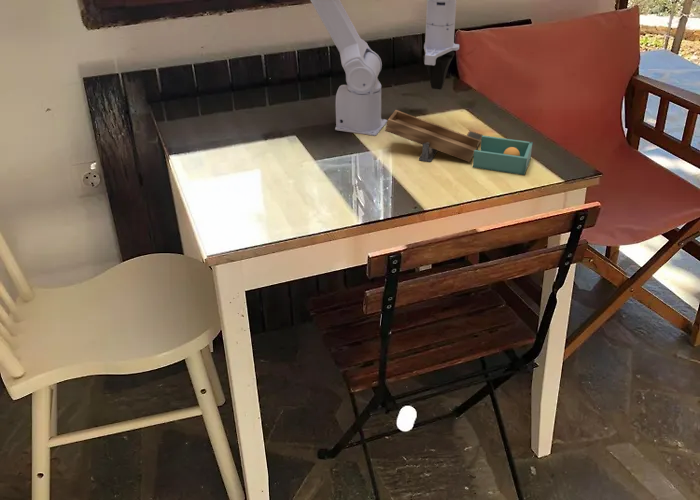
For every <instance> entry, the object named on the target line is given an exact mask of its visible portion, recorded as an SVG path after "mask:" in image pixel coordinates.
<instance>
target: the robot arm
mask: <svg viewBox="0 0 700 500" xmlns="http://www.w3.org/2000/svg"><path fill="white" fill-rule="evenodd" d="M309 1H310V2H311V4H312V6H313V8H314V10H315V11H316V14H317V15H318V16H319V18H320V20H321V23H323V26H324V27H325V29H326V31H327V32H328V34H329V36H330V38H331V40H332V41H333V43H334V45H335V46H336V49H337V51H338V52H339V55H340V62H341V66H342V68H343V70H344V72H345V82H346V84H341V85H339V87H338V89H337V91H336V94H335V124H336V125H335V128H334V130H335V131H338V132H339V131H340V132H346V133H353V134H361V135H368V136H374V137H375V136H378V134H379V132H380V131H381V130H382V129H383V128H384V126H386V125H387V121H388V119H385V118H382V84H381V82H380V81H379V78H378V77H379V75H380V73H381V71H382V68H383V67H382V66H383V64H382V59H381V57H380V56H379V54H378V53H376V52H375V51H373V50H372V49H371V47H370V46H369V45H368V43H367V41H365V40H364V39H363V38H361V36H360V35H359V33H358V31H357V28H356V27H355V25H354V23H353V22H352V20H351V18H350V16H349V14H348V12H347V11H346V9H345V6H344V5H343V3H342V1H341V0H309ZM456 17H457V0H426V16H425V19H426V20H425V40H424V41H425V42H424V43H423V49H424V54H423V55H422V61H423V63H424V65H425V67H426V68H427V72H428V77H429V82H430V86H431V89H433V90H442V89H443V87H444V85H445V81H446V77H447V73H448V69H449V67H450V64H451V62H452V60H453V58H454V57H455V52H454V51H458V50H460V44H459V43H455V29H456Z"/></svg>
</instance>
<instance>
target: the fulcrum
mask: <svg viewBox="0 0 700 500" xmlns="http://www.w3.org/2000/svg"><path fill="white" fill-rule="evenodd" d="M438 152H439V151H438V150H436V149H433V148H430V147H429V144H428V143H423V145H422V153H420V156H419V157H418V161H421V162H424V163H425V162H427V163H431V162H432V161H433V159H434V158H435V156H436V154H437V153H438Z"/></svg>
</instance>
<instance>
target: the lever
mask: <svg viewBox="0 0 700 500" xmlns="http://www.w3.org/2000/svg"><path fill="white" fill-rule="evenodd" d="M384 131H385V132H386V133H387V132H388V133H390V134H392V135H395V136H398V137H401V138H404V139H406V140H408V141H412V142H415V143H416V144H420V145H422V146H423V143H428V144H429V147H430V148H433V149H436V150H438V151H437V152H441V153H444V154H447V155H449V156H451V157H455V158H457V159H460V160H463V161H466V162H468V163H470V162H471V161H472V159H473V158H474V150H478V148H479V145H481V138H482V135H483V134H482V133H478V132H476V131H473V130H468V132H467V134H464V133H461V132H459V131H455V130H453V129H449V128H447V127H445V126H442V125H439V124H436V123H434V122H431V121H427V120H425V119H422V118H420V117H416V116H414V115H412V114H408V113H406V112H403V111H400V110H398V109H395V110H394V111H393V112H392V114H391V115H390V116H389V118H388V119H387V123H386V124H385V130H384Z"/></svg>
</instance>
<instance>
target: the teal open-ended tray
mask: <svg viewBox="0 0 700 500" xmlns="http://www.w3.org/2000/svg"><path fill="white" fill-rule="evenodd" d="M533 144H534V143H533V141H527V140H519V139H511V138H505V137H504V138H503V137H497V136H489V135H484V134H482V138H481V142H480V150H478V149H476V150H474V155H473V157H472V159H473V161H472V168H473V169H481V170H488V171H495V172H502V173H508V174H513V175H522V176H525V175H526V172H527V170H528V167H529V164H530V161H531V159H532V151H533ZM509 147H515V148H517V149H518V150H519V152H520V156H515V155H508V154H503V153H504V151H505V150H506V149H507V148H509Z"/></svg>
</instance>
